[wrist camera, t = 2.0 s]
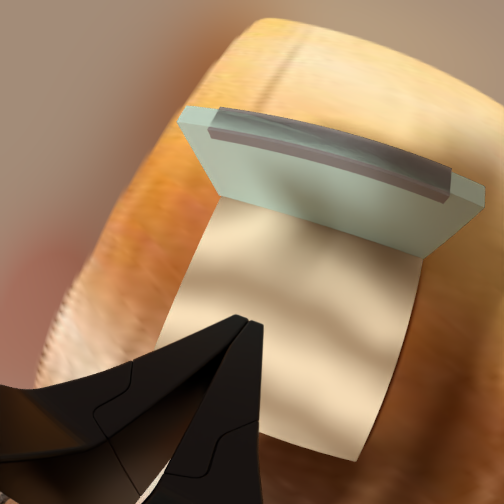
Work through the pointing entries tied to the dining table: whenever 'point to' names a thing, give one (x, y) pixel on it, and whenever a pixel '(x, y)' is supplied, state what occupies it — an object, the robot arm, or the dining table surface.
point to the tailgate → (332, 178)
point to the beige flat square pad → (304, 318)
